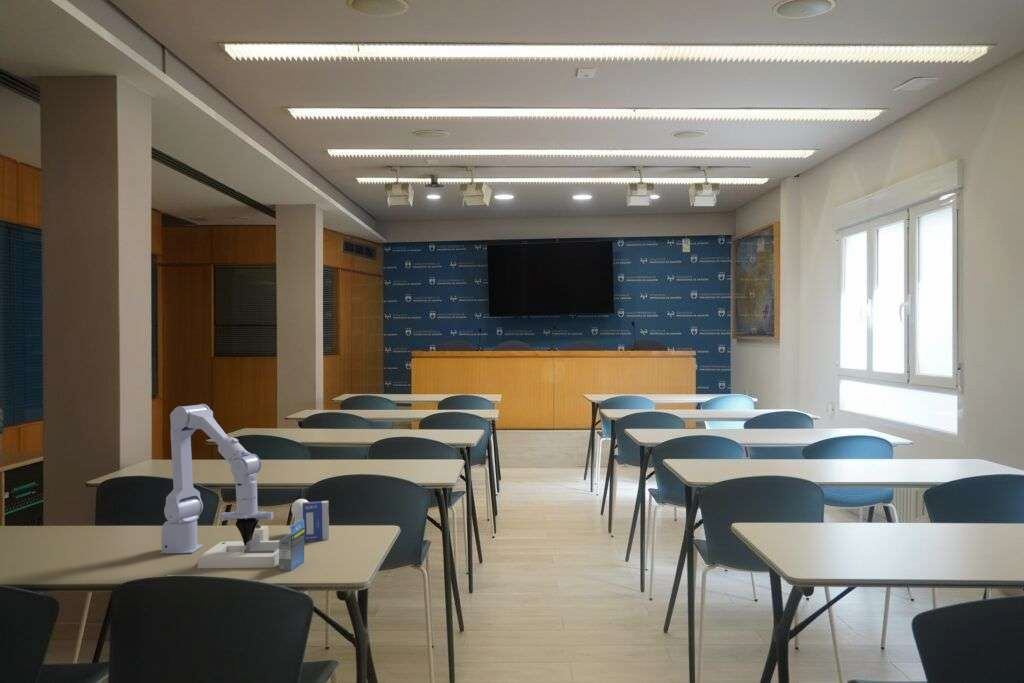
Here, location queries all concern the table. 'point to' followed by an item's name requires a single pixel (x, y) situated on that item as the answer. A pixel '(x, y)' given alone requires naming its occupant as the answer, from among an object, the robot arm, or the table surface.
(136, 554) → the table surface
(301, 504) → the lightbulb
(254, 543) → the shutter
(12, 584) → the table surface
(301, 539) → the label tape box
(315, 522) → the walkman
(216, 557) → the socket board
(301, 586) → the table surface
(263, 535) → the plug
